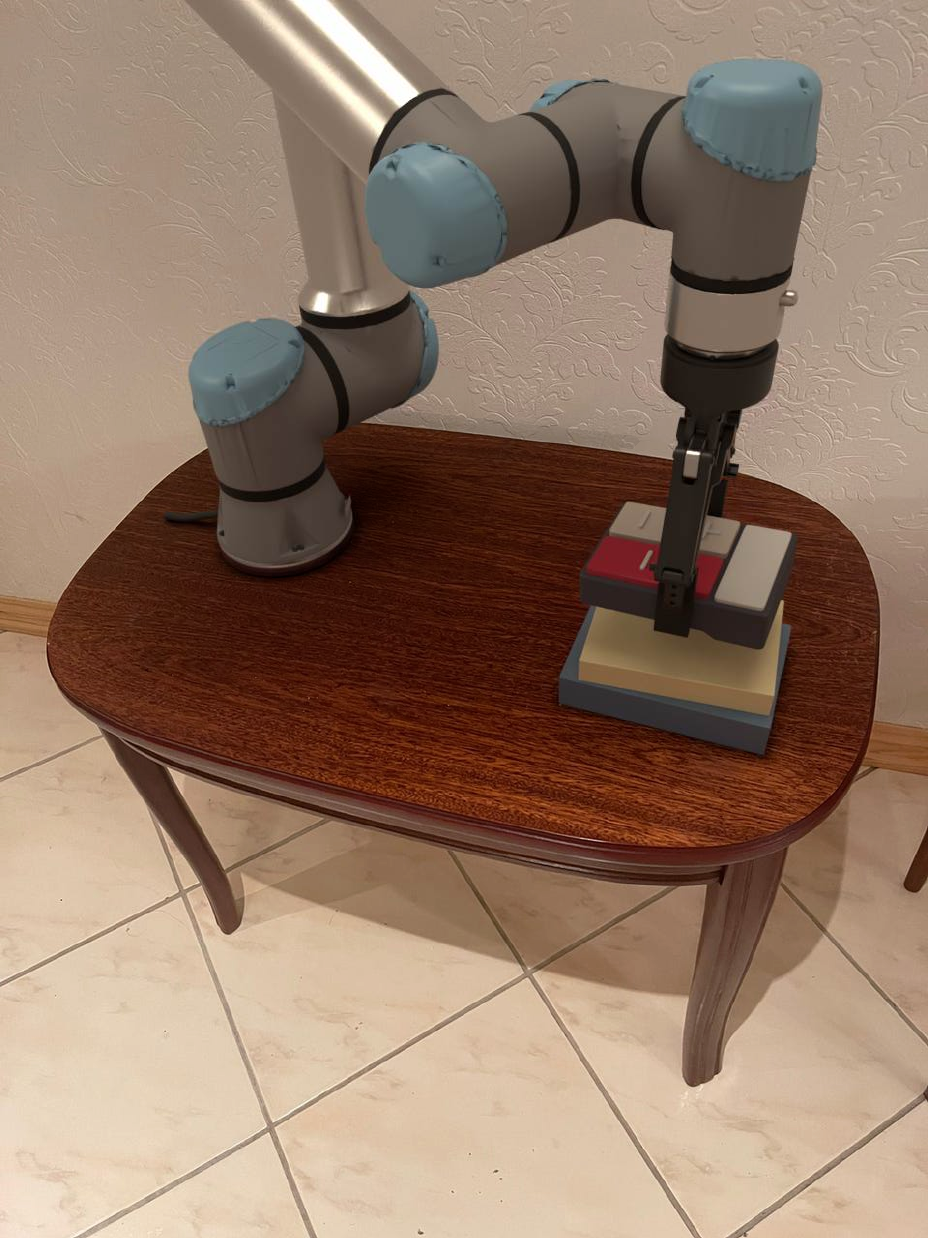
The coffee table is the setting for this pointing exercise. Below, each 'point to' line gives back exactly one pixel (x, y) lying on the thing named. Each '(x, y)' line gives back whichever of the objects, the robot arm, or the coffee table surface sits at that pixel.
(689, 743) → the coffee table surface
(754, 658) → the book stack
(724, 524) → the calculator
